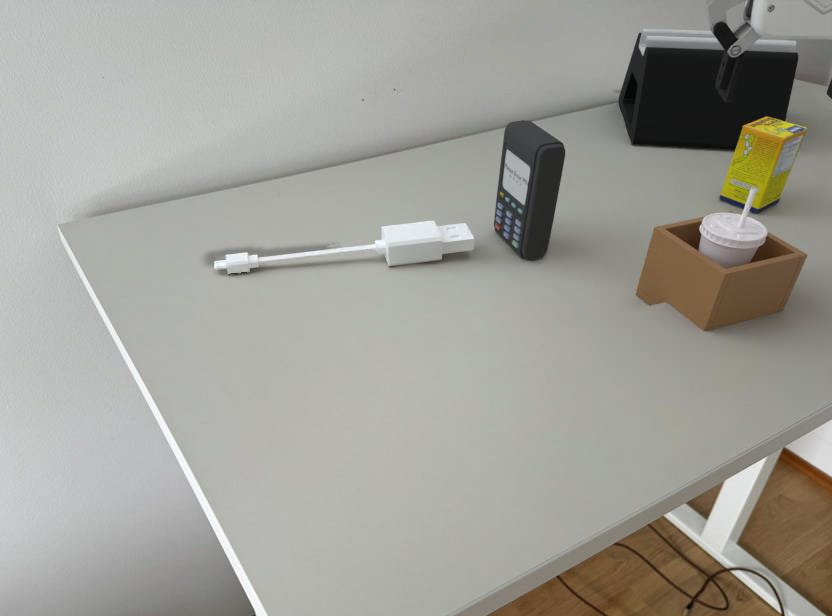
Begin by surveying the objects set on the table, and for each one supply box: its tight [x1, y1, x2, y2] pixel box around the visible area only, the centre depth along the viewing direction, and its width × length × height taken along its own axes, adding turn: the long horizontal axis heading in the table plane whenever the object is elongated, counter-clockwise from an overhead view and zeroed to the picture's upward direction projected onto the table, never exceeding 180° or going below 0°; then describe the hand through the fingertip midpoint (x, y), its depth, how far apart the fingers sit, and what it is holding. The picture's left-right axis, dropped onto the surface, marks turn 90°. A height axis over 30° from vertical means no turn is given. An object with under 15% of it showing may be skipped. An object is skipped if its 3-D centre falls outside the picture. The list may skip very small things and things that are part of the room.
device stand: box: [618, 28, 799, 151], centre depth 120 cm, size 22×22×15 cm
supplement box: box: [718, 117, 808, 215], centre depth 98 cm, size 6×6×11 cm
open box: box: [635, 210, 808, 332], centre depth 78 cm, size 11×11×9 cm
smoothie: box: [699, 187, 769, 269], centre depth 75 cm, size 6×6×14 cm
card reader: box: [493, 119, 566, 261], centre depth 88 cm, size 9×4×15 cm, turn 18°
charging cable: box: [213, 220, 475, 275], centre depth 89 cm, size 5×32×3 cm, turn 98°
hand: (779, 98), depth 67 cm, fingers open, 9 cm apart
